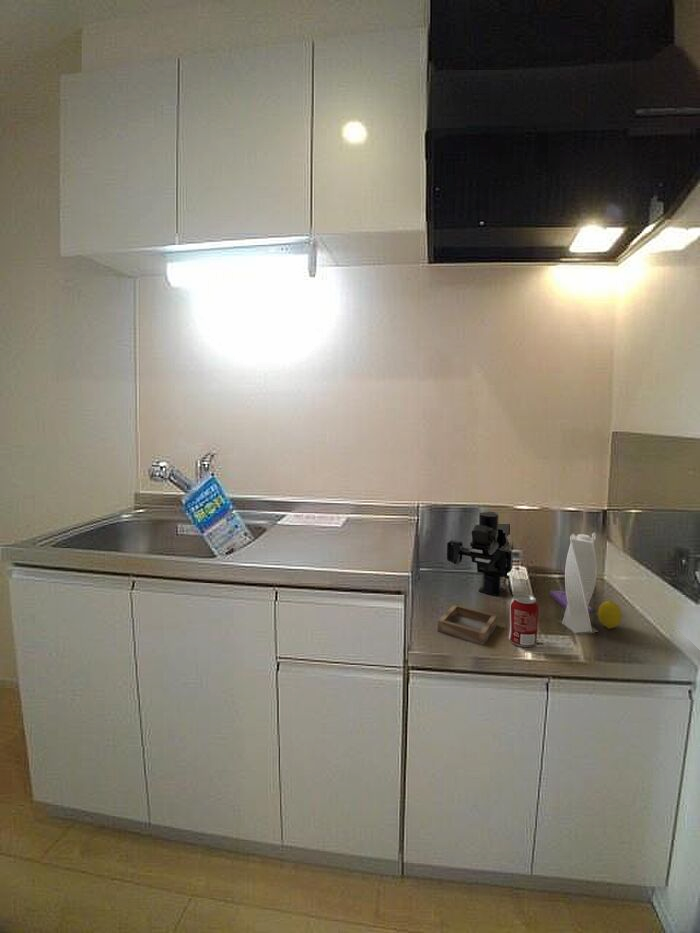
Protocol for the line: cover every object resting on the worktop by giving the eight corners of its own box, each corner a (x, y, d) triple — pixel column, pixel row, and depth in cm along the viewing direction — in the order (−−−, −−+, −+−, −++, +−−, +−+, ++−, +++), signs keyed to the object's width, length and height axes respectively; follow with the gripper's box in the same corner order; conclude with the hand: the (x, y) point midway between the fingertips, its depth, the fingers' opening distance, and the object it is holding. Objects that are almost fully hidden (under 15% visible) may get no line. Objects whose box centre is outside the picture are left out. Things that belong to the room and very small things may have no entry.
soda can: (538, 650, 106) (541, 604, 105) (510, 647, 108) (512, 602, 106) (533, 636, 113) (535, 593, 111) (506, 634, 114) (508, 591, 113)
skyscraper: (601, 635, 114) (610, 533, 110) (574, 637, 112) (582, 534, 109) (580, 620, 122) (587, 525, 119) (554, 622, 121) (560, 526, 117)
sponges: (571, 596, 140) (571, 590, 139) (591, 613, 127) (592, 607, 127) (549, 595, 140) (550, 590, 140) (568, 613, 127) (568, 607, 127)
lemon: (617, 625, 119) (619, 598, 118) (622, 635, 114) (625, 606, 113) (594, 622, 121) (596, 595, 120) (599, 631, 116) (601, 603, 115)
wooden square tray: (454, 613, 126) (454, 604, 125) (496, 625, 119) (497, 615, 118) (437, 631, 116) (437, 620, 115) (483, 645, 109) (483, 634, 108)
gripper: (456, 518, 135) (438, 532, 122) (518, 527, 126) (506, 543, 113) (455, 552, 137) (438, 569, 124) (516, 563, 127) (504, 582, 114)
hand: (470, 565), depth 119 cm, fingers open, 9 cm apart
